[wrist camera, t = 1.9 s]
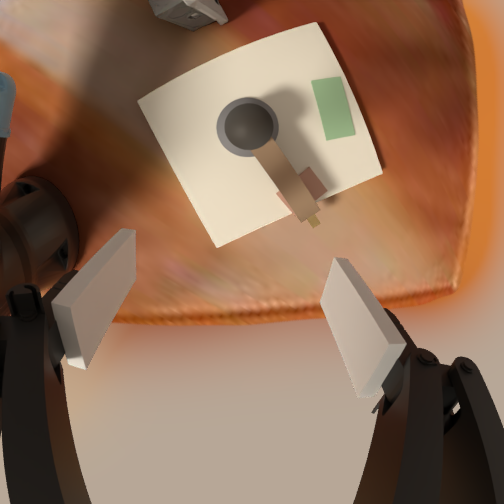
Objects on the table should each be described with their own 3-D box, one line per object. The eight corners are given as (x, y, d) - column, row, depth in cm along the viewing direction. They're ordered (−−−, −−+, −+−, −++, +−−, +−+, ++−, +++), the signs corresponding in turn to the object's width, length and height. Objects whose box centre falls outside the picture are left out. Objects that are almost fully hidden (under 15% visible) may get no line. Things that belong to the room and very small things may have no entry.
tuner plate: (219, 246, 33) (218, 252, 31) (140, 101, 26) (136, 100, 24) (379, 174, 30) (385, 177, 28) (313, 25, 23) (317, 20, 21)
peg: (218, 123, 26) (214, 121, 22) (252, 99, 25) (254, 94, 21) (296, 229, 30) (304, 246, 26) (327, 209, 30) (340, 222, 26)
